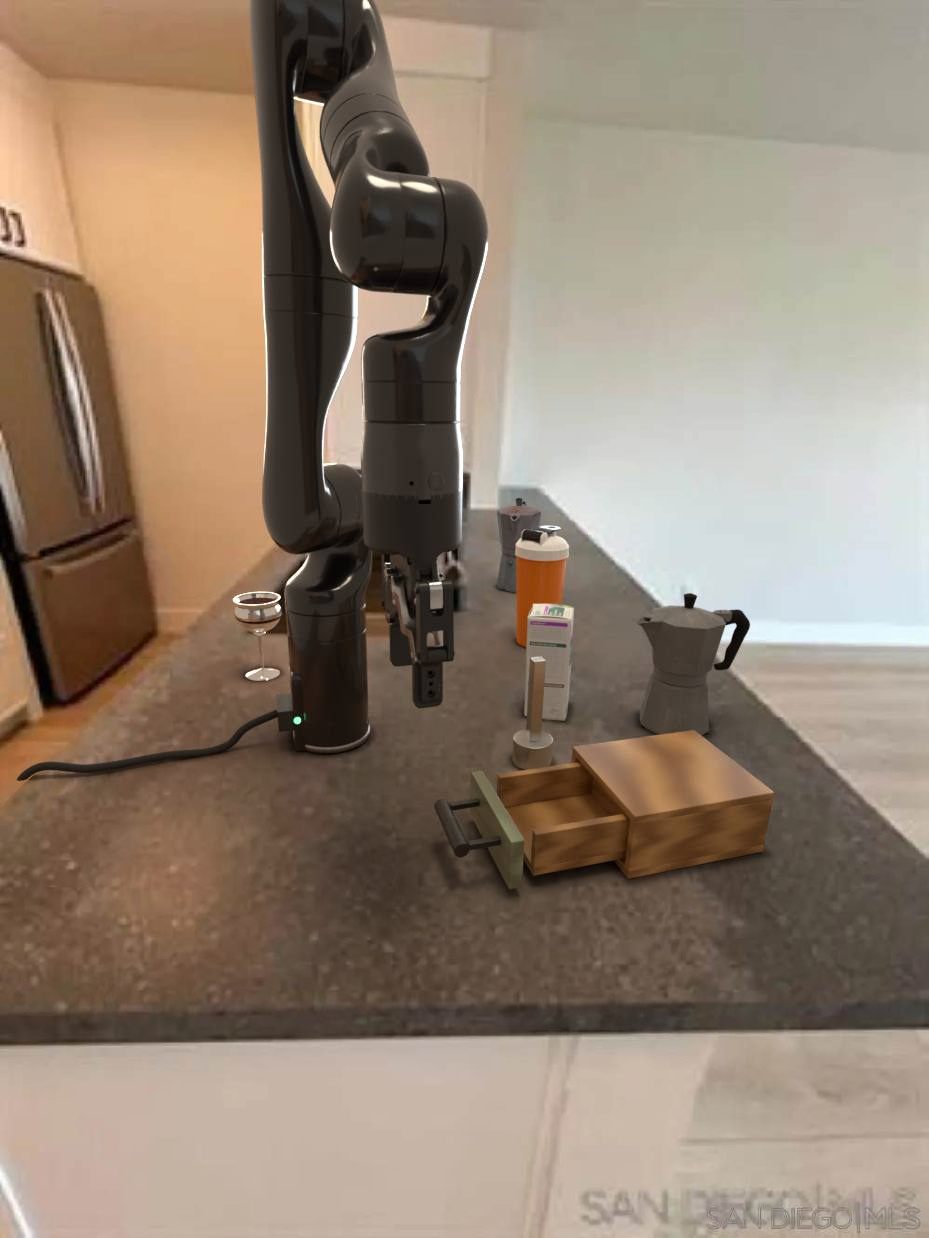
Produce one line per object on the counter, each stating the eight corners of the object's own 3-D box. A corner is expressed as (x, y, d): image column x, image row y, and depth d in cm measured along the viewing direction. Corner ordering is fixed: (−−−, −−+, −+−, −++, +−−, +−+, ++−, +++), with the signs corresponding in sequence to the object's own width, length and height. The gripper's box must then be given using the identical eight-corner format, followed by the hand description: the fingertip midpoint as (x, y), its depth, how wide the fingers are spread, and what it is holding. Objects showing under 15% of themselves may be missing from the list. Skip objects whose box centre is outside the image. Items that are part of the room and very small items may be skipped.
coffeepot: (642, 744, 84) (658, 607, 78) (612, 710, 93) (625, 584, 87) (753, 735, 87) (777, 602, 81) (714, 703, 95) (733, 581, 90)
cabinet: (627, 879, 60) (635, 816, 58) (568, 801, 72) (572, 746, 70) (763, 851, 65) (774, 792, 62) (686, 781, 76) (693, 729, 74)
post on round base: (520, 773, 77) (526, 668, 73) (506, 753, 81) (511, 653, 77) (557, 768, 78) (565, 664, 74) (542, 748, 82) (548, 649, 78)
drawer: (460, 899, 56) (461, 851, 55) (428, 819, 67) (428, 777, 65) (647, 862, 61) (653, 817, 60) (590, 793, 72) (594, 754, 70)
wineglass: (260, 662, 106) (254, 589, 102) (295, 670, 104) (290, 595, 100) (229, 677, 100) (222, 600, 97) (265, 686, 98) (259, 608, 94)
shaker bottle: (570, 639, 119) (579, 527, 112) (548, 655, 112) (556, 536, 105) (525, 630, 123) (531, 521, 117) (501, 644, 116) (506, 529, 110)
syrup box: (566, 722, 89) (574, 618, 85) (522, 717, 90) (527, 614, 86) (568, 703, 94) (576, 605, 90) (526, 699, 96) (532, 601, 91)
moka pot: (490, 594, 144) (493, 501, 138) (498, 576, 159) (502, 491, 152) (534, 597, 143) (540, 503, 136) (539, 579, 157) (544, 493, 151)
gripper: (348, 475, 56) (355, 657, 61) (380, 499, 43) (386, 729, 48) (435, 473, 58) (435, 649, 63) (491, 496, 45) (486, 715, 50)
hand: (414, 683), depth 55 cm, fingers open, 8 cm apart
